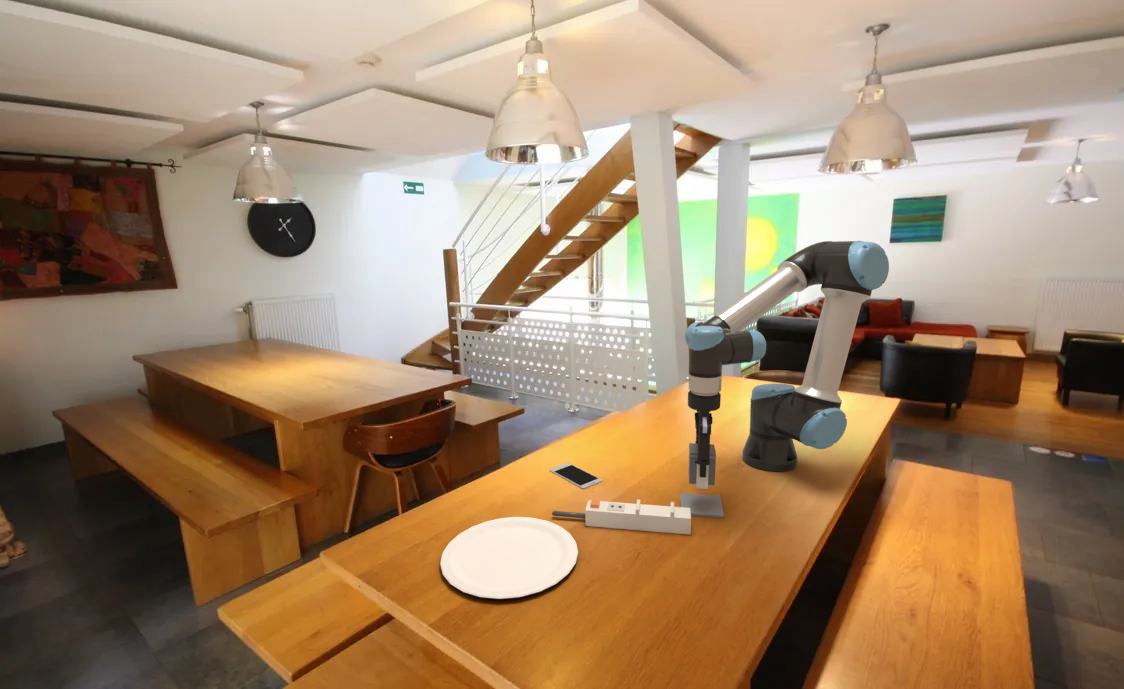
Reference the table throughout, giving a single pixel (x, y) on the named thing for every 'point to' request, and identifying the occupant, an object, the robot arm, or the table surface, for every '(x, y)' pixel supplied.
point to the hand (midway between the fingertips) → (701, 481)
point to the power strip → (634, 516)
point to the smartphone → (576, 476)
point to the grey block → (693, 467)
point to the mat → (702, 505)
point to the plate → (509, 558)
